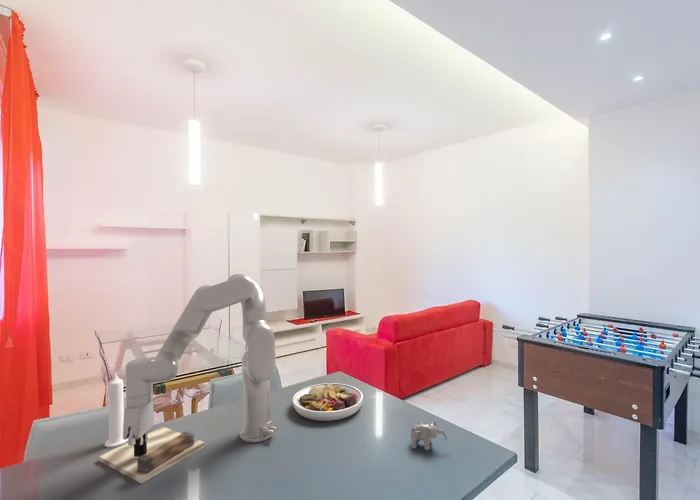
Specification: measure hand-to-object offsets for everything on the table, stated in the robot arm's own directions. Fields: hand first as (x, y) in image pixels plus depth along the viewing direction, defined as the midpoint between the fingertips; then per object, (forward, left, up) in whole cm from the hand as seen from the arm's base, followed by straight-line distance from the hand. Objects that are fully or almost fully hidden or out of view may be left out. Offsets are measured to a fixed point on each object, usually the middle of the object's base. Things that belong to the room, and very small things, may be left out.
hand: (140, 455), depth 115 cm
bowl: (-32, -62, -3) cm, 70 cm away
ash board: (+1, -5, -2) cm, 6 cm away
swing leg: (-7, -5, -1) cm, 9 cm away
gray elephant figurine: (-79, -53, -3) cm, 95 cm away
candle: (+20, -3, -3) cm, 21 cm away
